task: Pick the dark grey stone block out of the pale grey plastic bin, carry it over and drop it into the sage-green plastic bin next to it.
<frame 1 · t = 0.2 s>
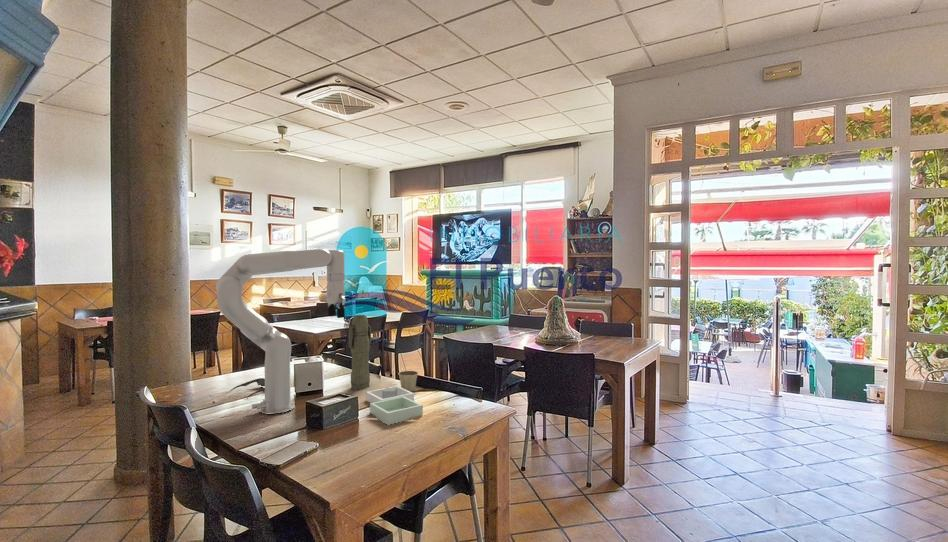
hand: (336, 316, 192), 36 cm above the table, tool pointing down, fingers open, 9 cm apart
bin a: (389, 403, 186), on the table
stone: (389, 401, 186), point 1 cm above the table, touching bin a
bin b: (396, 415, 170), on the table
thermos: (360, 388, 210), on the table
flower pot: (408, 391, 203), on the table
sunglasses: (251, 394, 202), on the table
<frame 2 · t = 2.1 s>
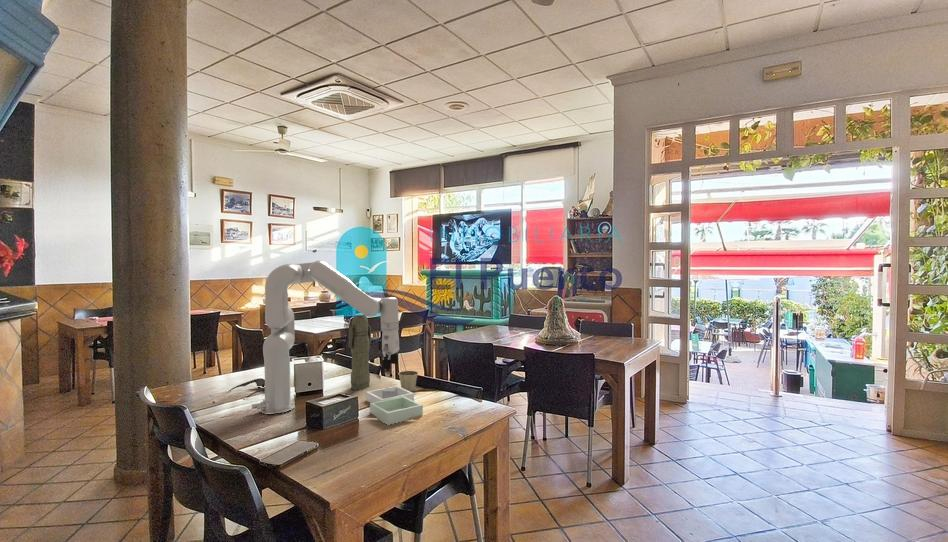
hand: (390, 366, 186), 16 cm above the table, tool pointing down, fingers open, 9 cm apart
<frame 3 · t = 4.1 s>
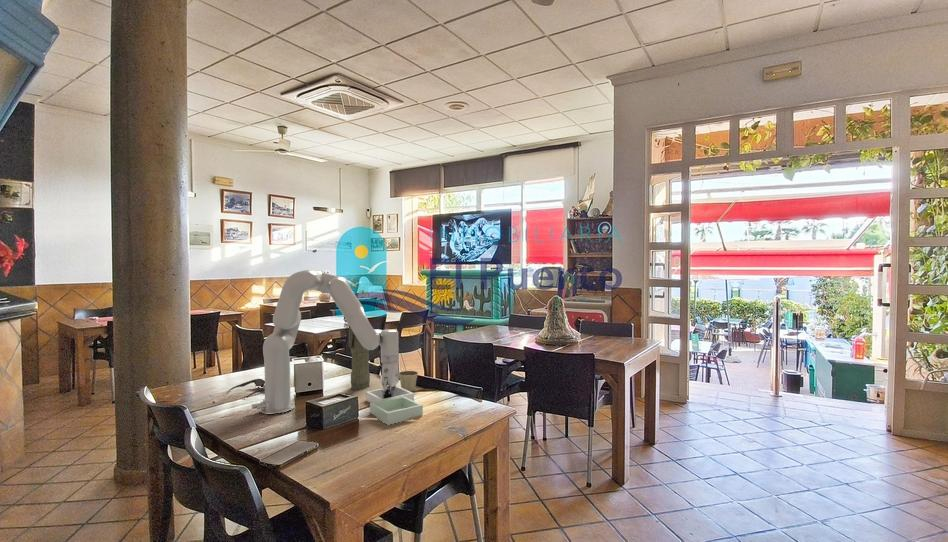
hand: (389, 400, 186), 1 cm above the table, tool pointing down, fingers closed on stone, 5 cm apart
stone: (389, 401, 186), point 1 cm above the table, touching bin a, gripper
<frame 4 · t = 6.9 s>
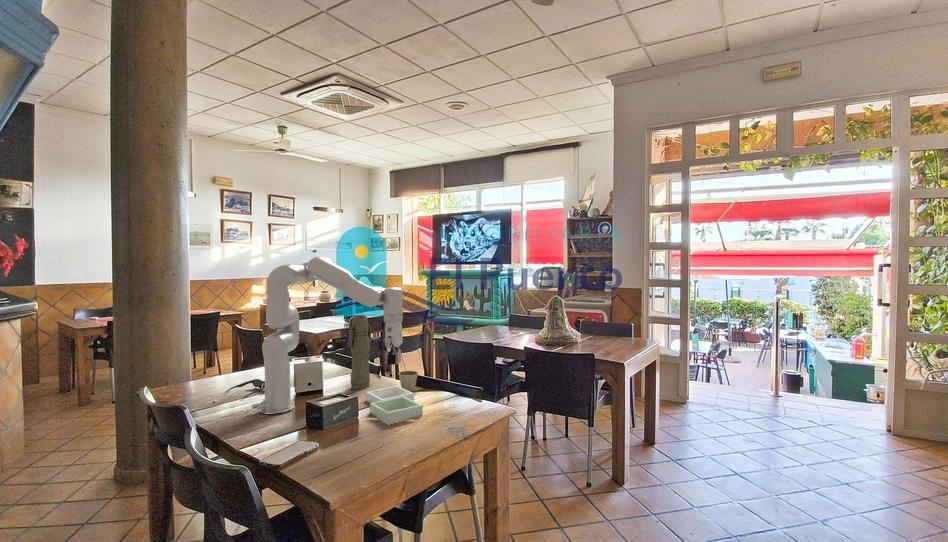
hand: (393, 362, 176), 20 cm above the table, tool pointing down, fingers closed on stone, 5 cm apart
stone: (393, 362, 176), point 19 cm above the table, touching gripper
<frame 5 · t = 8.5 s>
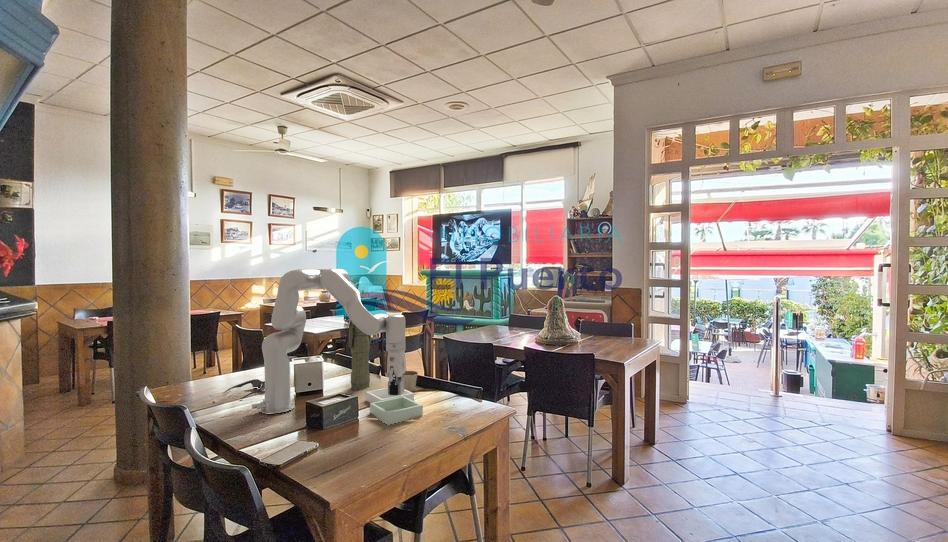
hand: (396, 392, 170), 9 cm above the table, tool pointing down, fingers closed on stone, 5 cm apart
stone: (396, 393, 170), point 9 cm above the table, touching gripper
when the fingers open (2 cm above the table, at t = 10.0 s): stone drops 1 cm, resting on bin b.
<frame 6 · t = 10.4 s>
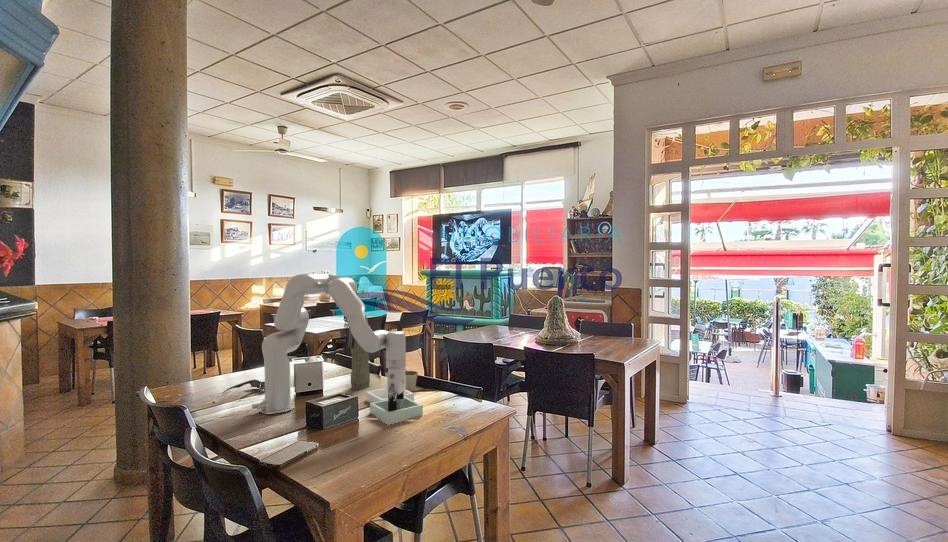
hand: (396, 406, 170), 3 cm above the table, tool pointing down, fingers open, 9 cm apart
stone: (396, 413, 170), point 1 cm above the table, touching bin b
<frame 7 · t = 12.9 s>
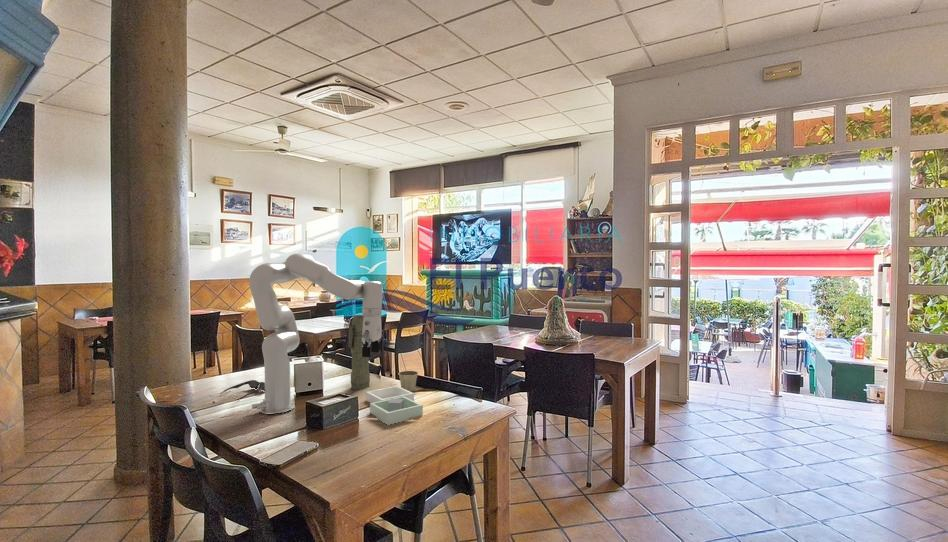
hand: (370, 354, 174), 23 cm above the table, tool pointing down, fingers open, 9 cm apart
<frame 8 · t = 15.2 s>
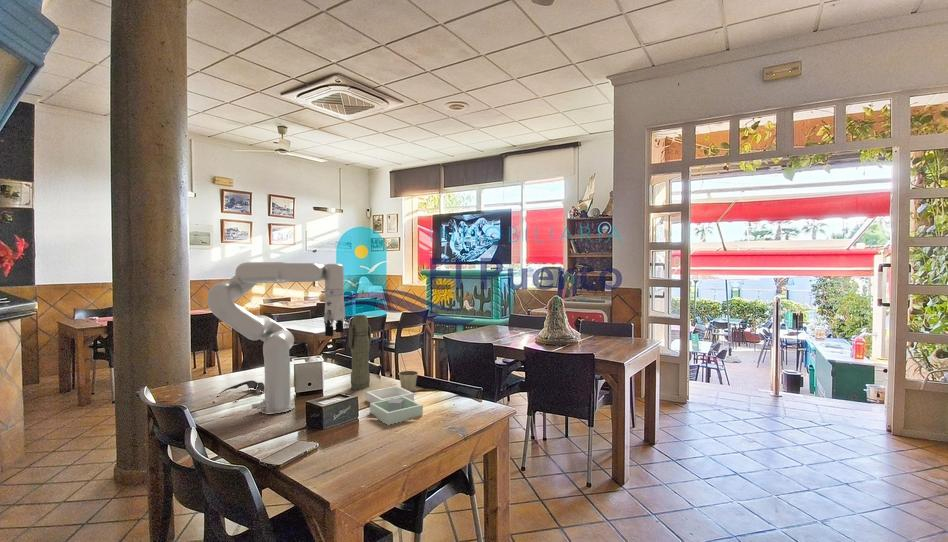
hand: (334, 334, 181), 30 cm above the table, tool pointing down, fingers open, 9 cm apart
at the end: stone inside the target area on the bin b (0.1 cm from its centre), point 0.8 cm above the bin b's base; the gripper is holding nothing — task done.
